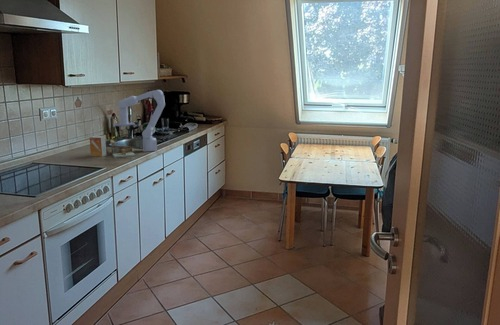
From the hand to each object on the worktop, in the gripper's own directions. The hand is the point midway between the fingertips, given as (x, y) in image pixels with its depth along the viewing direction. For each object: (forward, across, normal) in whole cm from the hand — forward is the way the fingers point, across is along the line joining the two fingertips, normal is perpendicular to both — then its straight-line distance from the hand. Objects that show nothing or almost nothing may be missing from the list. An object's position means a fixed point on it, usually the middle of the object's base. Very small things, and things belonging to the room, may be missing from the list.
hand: (125, 136), depth 290 cm
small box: (+11, +19, +10) cm, 24 cm away
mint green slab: (+10, +4, +17) cm, 20 cm away
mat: (+10, +4, +17) cm, 21 cm away
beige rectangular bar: (+6, +8, -6) cm, 11 cm away
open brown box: (+10, +4, +7) cm, 13 cm away
